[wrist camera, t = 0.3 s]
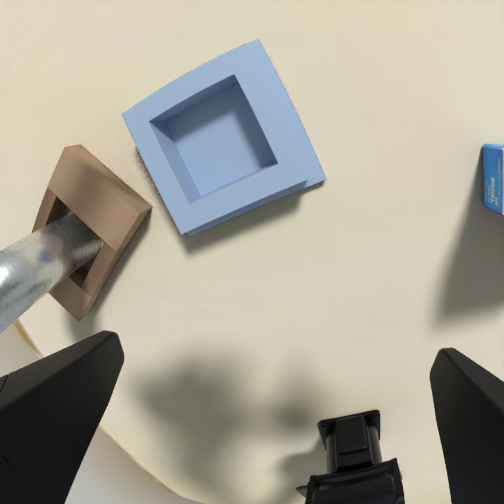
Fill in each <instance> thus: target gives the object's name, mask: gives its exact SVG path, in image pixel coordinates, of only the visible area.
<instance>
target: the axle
mask: <svg viewBox="0 0 504 504" xmlns="http://www.w3.org/2000/svg"><path fill="white" fill-rule="evenodd" d="M100 246H101V238H100V237H99V236H98V235H97V234H96V233H95V232H94V231H93V230H92V229H91V228H89V227H88V226H87V225H86V224H85V223H84V222H83V221H82V220H81V219H80V218H79V217H78V216H77V215H76V214H75V213H74V212H73V213H71V214H69V215H67V216H65V217H63V218H61V219H59V220H57V221H55V222H53V223H51V224H49V225H47V226H45V227H43V228H41V229H39V230H37V231H35V232H33V233H32V234H30V235H28V236H26V237H24V238H22V239H21V240H19V241H17V242H15V243H13V244H12V245H10V246H8V247H6V248H5V249H3V250H1V251H0V333H1V332H3V331H4V330H5V329H6V328H7V327H8V326H9V325H10V324H11V323H13V322H14V321H15V320H16V319H17V318H18V317H19V316H21V315H22V314H23V313H24V312H25V311H26V310H27V309H29V308H30V307H31V306H32V305H33V304H35V303H36V302H37V301H38V300H39V299H40V298H42V297H43V296H44V295H45V294H47V293H48V292H49V291H50V290H51V289H53V288H54V287H55V286H56V285H58V284H59V283H60V282H61V281H63V280H64V279H65V278H67V277H68V276H69V275H70V274H72V273H73V272H74V271H76V270H77V269H78V268H79V267H81V266H82V265H83V264H85V263H86V262H87V261H89V260H90V259H91V258H93V257H94V256H95V255H96V254H97V253H98V251H99V249H100Z"/></svg>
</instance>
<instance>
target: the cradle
mask: <svg viewBox="0 0 504 504" xmlns="http://www.w3.org/2000/svg"><path fill="white" fill-rule="evenodd" d="M122 116H123V119H124V121H125V123H126V125H127V127H128V129H129V132H130V134H131V136H132V138H133V140H134V142H135V144H136V146H137V148H138V151H139V153H140V155H141V157H142V159H143V161H144V163H145V165H146V167H147V169H148V171H149V173H150V175H151V177H152V179H153V181H154V183H155V185H156V187H157V189H158V191H159V193H160V195H161V197H162V199H163V201H164V203H165V205H166V207H167V209H168V211H169V213H170V214H171V216H172V218H173V220H174V222H175V224H176V226H177V228H178V230H179V232H180V233H181V234H183V233H185V232H186V234H187V236H188V237H191V236H193V235H195V234H198V233H200V232H202V231H204V230H207V229H209V228H211V227H213V226H216V225H218V224H220V223H223V222H225V221H227V220H229V219H232V218H234V217H236V216H239V215H241V214H243V213H246V212H248V211H250V210H253V209H255V208H257V207H260V206H262V205H265V204H267V203H269V202H272V201H274V200H277V199H279V198H281V197H284V196H286V195H289V194H291V193H294V192H296V191H298V190H301V189H303V188H306V187H308V186H311V185H313V184H316V183H318V182H321V181H323V180H326V177H325V174H324V172H323V169H322V167H321V165H320V162H319V160H318V158H317V155H316V153H315V151H314V148H313V146H312V144H311V142H310V139H309V137H308V135H307V133H306V131H305V128H304V126H303V124H302V122H301V120H300V118H299V115H298V113H297V111H296V109H295V107H294V105H293V103H292V101H291V99H290V97H289V95H288V93H287V91H286V89H285V87H284V85H283V83H282V81H281V79H280V77H279V75H278V73H277V71H276V70H275V68H274V66H273V64H272V62H271V60H270V58H269V57H268V55H267V53H266V51H265V49H264V47H263V46H262V44H261V42H260V40H259V39H257V40H254V41H252V42H250V43H246V44H244V45H241V46H239V47H237V48H235V49H233V50H231V51H228V52H226V53H224V54H222V55H220V56H218V57H216V58H214V59H212V60H210V61H208V62H206V63H204V64H202V65H201V66H199V67H197V68H195V69H193V70H191V71H190V72H188V73H186V74H184V75H182V76H181V77H179V78H177V79H175V80H174V81H172V82H170V83H169V84H167V85H165V86H164V87H162V88H160V89H159V90H157V91H156V92H154V93H153V94H151V95H149V96H148V97H146V98H145V99H143V100H142V101H140V102H139V103H137V104H136V105H134V106H133V107H131V108H130V109H128V110H127V111H126V112H124V113H123V114H122Z"/></svg>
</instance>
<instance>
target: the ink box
mask: <svg viewBox="0 0 504 504" xmlns="http://www.w3.org/2000/svg"><path fill="white" fill-rule="evenodd" d="M483 172H484V186H483V203H484V206H486V207H488V208H490V209H492V210H494V211H496V212H498V213H500V214H502V215H503V216H504V145H493V144H484V145H483Z"/></svg>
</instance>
